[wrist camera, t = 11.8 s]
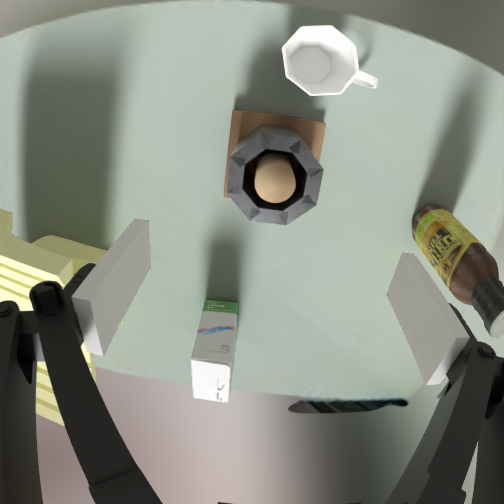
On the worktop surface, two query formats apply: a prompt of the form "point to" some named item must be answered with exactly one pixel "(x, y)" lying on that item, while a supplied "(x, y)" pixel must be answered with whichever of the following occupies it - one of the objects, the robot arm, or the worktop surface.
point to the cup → (323, 61)
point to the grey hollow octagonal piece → (244, 180)
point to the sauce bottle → (462, 264)
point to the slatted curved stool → (33, 272)
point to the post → (273, 152)
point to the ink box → (215, 351)
